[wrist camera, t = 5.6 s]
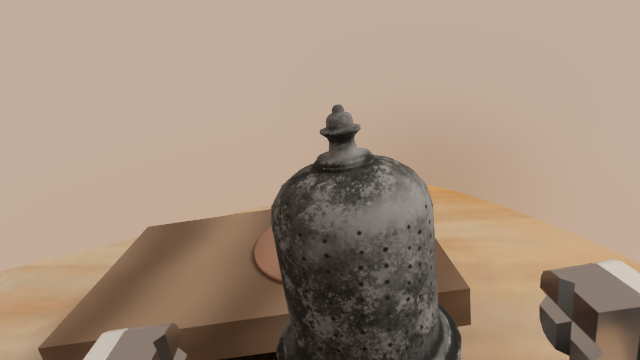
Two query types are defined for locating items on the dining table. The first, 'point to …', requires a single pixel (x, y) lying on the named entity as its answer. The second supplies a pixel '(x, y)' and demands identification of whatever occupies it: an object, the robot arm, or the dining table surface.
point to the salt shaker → (359, 258)
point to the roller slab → (206, 290)
